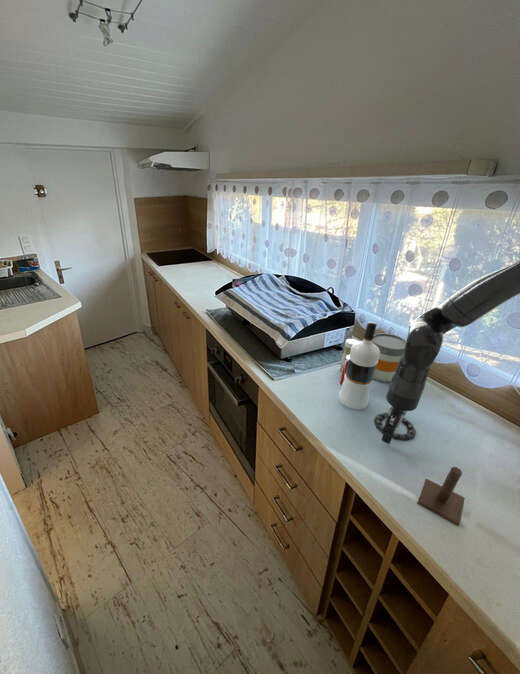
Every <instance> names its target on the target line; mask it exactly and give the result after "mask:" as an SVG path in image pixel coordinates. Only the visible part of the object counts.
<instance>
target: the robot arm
mask: <svg viewBox="0 0 520 674" xmlns="http://www.w3.org/2000/svg"><path fill="white" fill-rule="evenodd" d="M519 295H520V259H519V260H517V261H515V262H513V263H511V264H510V265H509V264H508V265H507V266H505V267H503V268H500V269H497V270H495V271H493V272H490V273H488V274H485V275H483V276H480V277H479V278H476V279H475V280H473V281H471V282H470V283H469V284H466V285H465V286H464V287H462V288H461V289H460V290H457V292H455V293H454V294H453V295H451V296H450V297H449V298H448V299H446V300H445V301H444V302H442V303H440V304H439V305H437V306H435V307H433V308H431V309H429V310H427V311H424V312H423V313H422V314H420V315H419V316H418V317H416V318H415V319H414V320H412V322H411V323H410V324H409V327H408V332H407V336H406V345H405V348H404V352H403V354H402V356H401V357H400V360H399V362H398V365H397V368H396V371H395V373H394V375H393V377H392V380H391V381H390V384H389V386H388V390H387V393H386V396H385V399H386V401H387V403H388V404H389V405H390V407H389V408H388V410H387V413H389V414H388V416H387V418H386V419H385V423H384V425H383V426H384V429H383V431H382V433H381V434H382V436H381V440H380V441H381V442H383V443H385V444H387V445H389V444H391V442H392V440H393V439H392V437H393V435H394V434H396V433H395V432H396V431H397V429H398V428H400V425H401V424H402V422H401V421H402V419H404V418H406V417H405V416H406V415H407V412H412V411H415V410H417V408H418V405H419V404H420V400H421V398H422V395H423V393H424V390H425V387H426V382H427V379H428V376H429V373H430V372H431V368H432V365H433V363H434V362H435V360H436V358H437V357H438V355H439V353H440V351H441V349H442V346H443V342H444V335H445V334H447V333H448V332H449V331H451V330H453V329H455V328H465V327H468V326H469V325H471V324H473V323H474V322H476V321H477V320H479V319H481V318H482V317H484V316H485V315H487V314H489V313H490V312H492V311H494V310H495V309H496V308H498V307H499V306H501V305H503V304H504V303H505V304H506V302H508V301H510V300H511V299H513V298H515V297H517V296H519Z"/></svg>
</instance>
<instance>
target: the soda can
mask: <svg viewBox="0 0 520 674" xmlns="http://www.w3.org/2000/svg"><path fill="white" fill-rule="evenodd" d="M348 362H349V355H347V357H346V358H345V361H344V365H343V370H342V372H341V375H340V379H339V386H341V387H343V384H344V379H345V374H346V371H347V366H348Z"/></svg>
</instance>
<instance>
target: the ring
mask: <svg viewBox="0 0 520 674" xmlns="http://www.w3.org/2000/svg"><path fill="white" fill-rule="evenodd" d="M388 414H389V413H388V412H382V413H377V415H376V416H375V417H374V420H373V422H374V425H375V428H376V429H377V430H378V431H379V432H380V433H381V434H383V433H382V431H383V429H384V426H385V425H383V421H384V420H386V418H387V416H388ZM401 424H403V425H404V426H405V427H406V429H407V432H406V433H403V434H401V433H395V434H394V435H393V437H392V439H391V440H395V441H403V442H407V441H410V440H413V439H414V438H415V436H416V434H417V430H416V428H415V426H414V424H413V423H412V422H411V421H410V420H409V419H407V418H406V417H404V419H402V421H401Z"/></svg>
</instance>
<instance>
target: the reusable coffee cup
mask: <svg viewBox="0 0 520 674" xmlns="http://www.w3.org/2000/svg"><path fill="white" fill-rule="evenodd" d="M406 341H407V339H405V338H403V337H401V336H399V335H395V334H393V333H383V332H382V333H375V334H374V337H373V342H372V343H373V344H375V345H376V346H377V347H378V348H379V350H380V356H379V359H378V363H377V364H376V368H375V372H374V375H373V378H374V379H373V380H375V379H376V380H375V381H378V380H380V381H379V382H382V381H388V382H391V380H392V377H393V375H394V373H395V371H396V368H397V365H398V362H399V360H400V357H401V356H402V354H403V352H404V348H405V345H406Z"/></svg>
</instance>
